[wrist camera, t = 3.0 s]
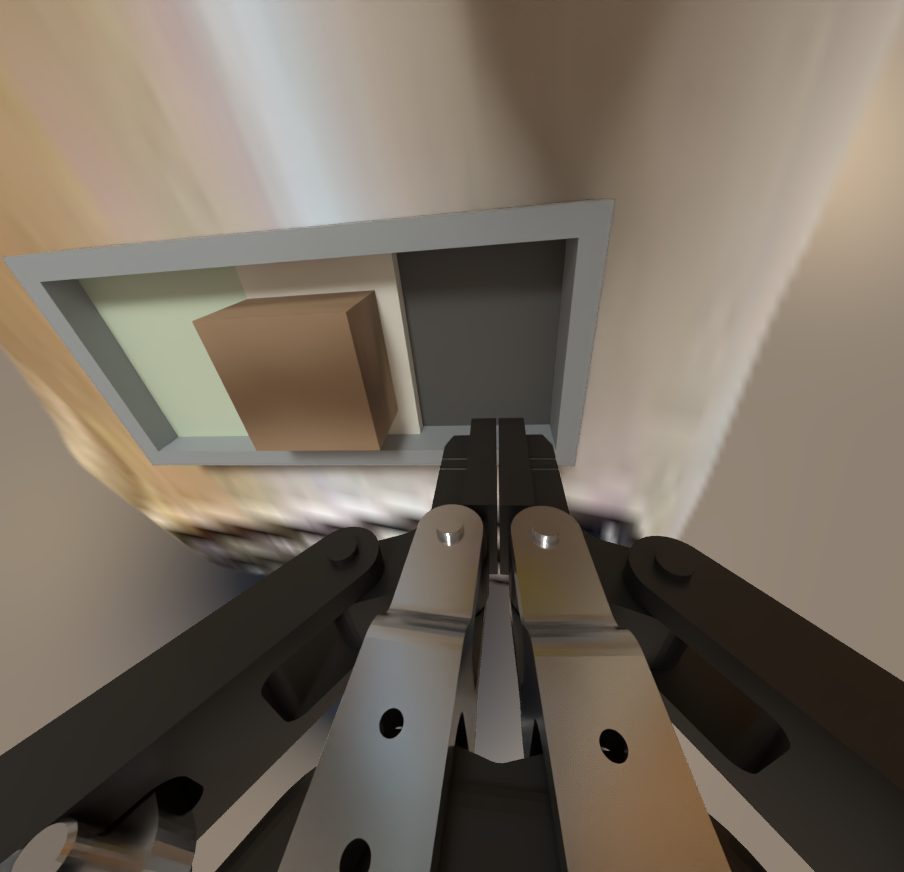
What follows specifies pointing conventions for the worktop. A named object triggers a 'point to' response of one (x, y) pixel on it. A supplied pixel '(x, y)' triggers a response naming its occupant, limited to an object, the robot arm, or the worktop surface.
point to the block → (305, 370)
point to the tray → (333, 271)
